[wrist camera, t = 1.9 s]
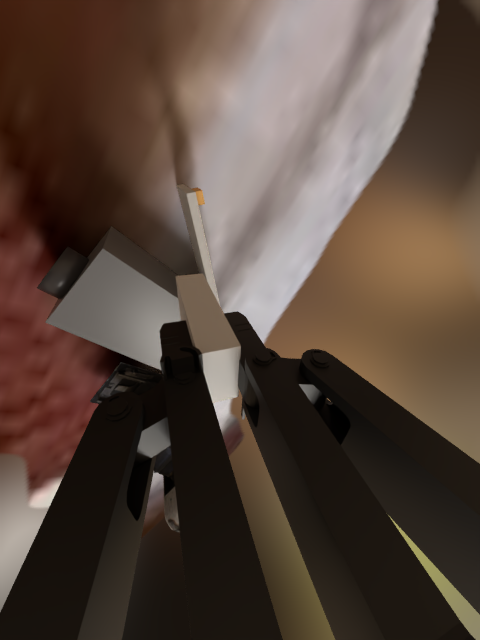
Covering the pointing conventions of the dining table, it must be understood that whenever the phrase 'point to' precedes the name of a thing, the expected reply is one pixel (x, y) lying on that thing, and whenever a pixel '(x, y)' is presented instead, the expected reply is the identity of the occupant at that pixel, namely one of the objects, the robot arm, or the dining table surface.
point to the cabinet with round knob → (114, 297)
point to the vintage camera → (140, 382)
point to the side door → (197, 231)
